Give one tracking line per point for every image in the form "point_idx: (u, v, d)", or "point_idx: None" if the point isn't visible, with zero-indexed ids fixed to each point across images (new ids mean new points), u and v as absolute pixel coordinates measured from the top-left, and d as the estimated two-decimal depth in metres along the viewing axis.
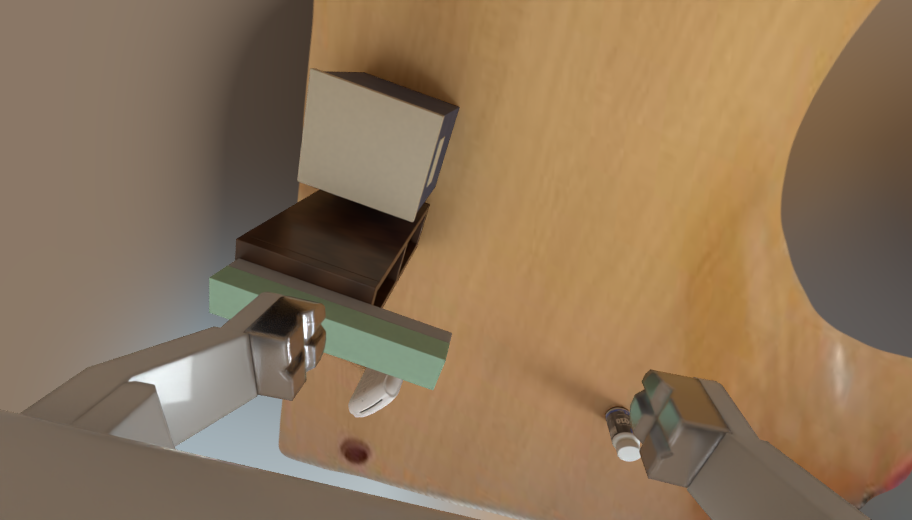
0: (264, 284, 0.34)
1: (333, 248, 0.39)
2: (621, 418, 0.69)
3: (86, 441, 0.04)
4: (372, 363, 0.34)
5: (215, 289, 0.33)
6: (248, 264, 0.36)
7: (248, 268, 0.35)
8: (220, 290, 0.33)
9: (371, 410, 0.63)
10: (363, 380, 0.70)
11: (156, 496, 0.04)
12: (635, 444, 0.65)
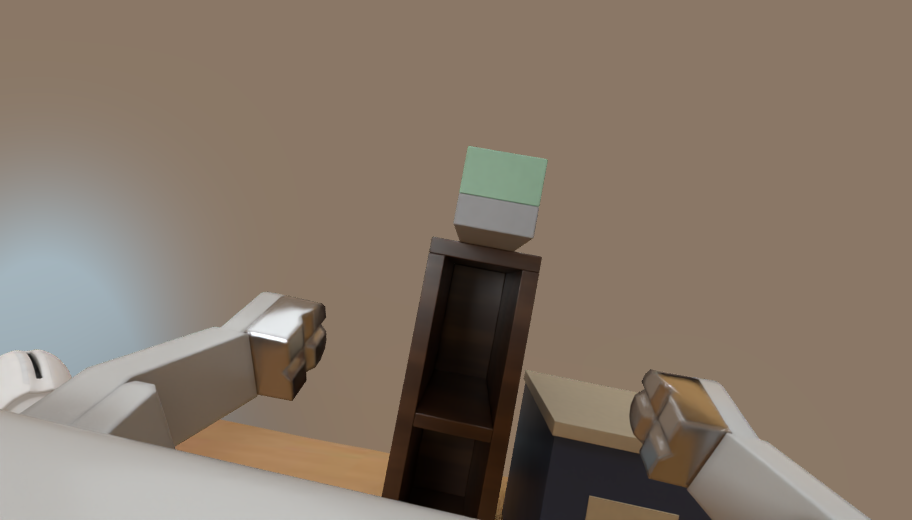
0: None
1: None
2: None
3: (86, 441, 0.04)
4: None
5: None
6: None
7: None
8: None
9: (23, 358, 0.26)
10: None
11: (155, 496, 0.04)
12: None
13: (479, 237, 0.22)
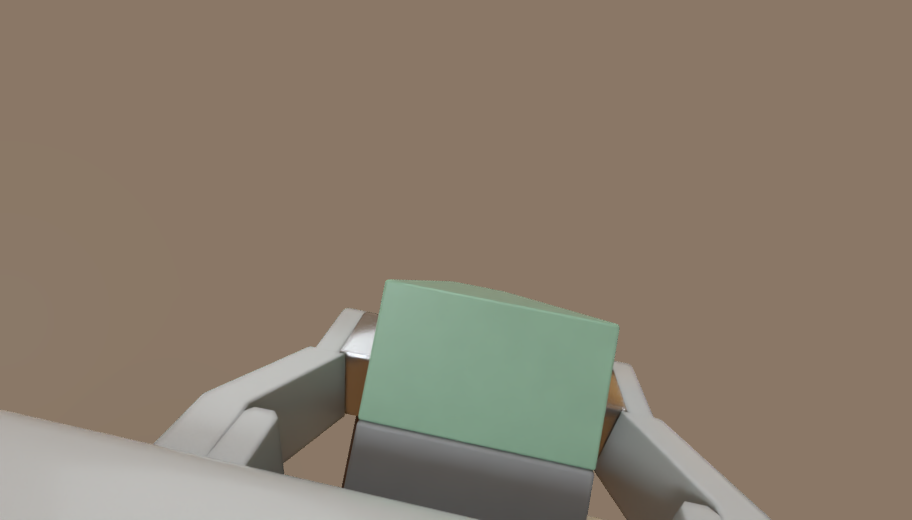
0: None
1: None
2: None
3: (86, 441, 0.04)
4: (449, 284, 0.12)
5: None
6: None
7: None
8: None
9: None
10: None
11: (156, 497, 0.04)
12: None
13: None
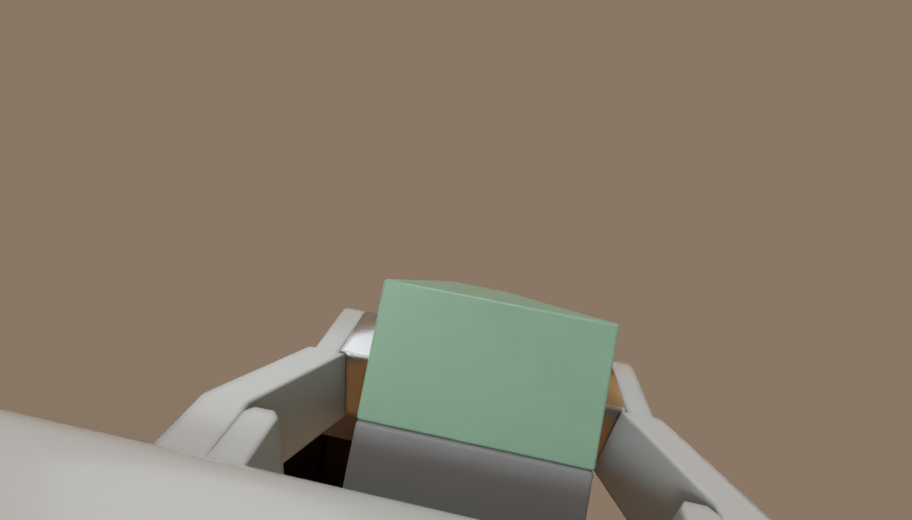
0: None
1: None
2: None
3: (86, 441, 0.04)
4: (449, 284, 0.12)
5: None
6: None
7: None
8: None
9: None
10: None
11: (156, 497, 0.04)
12: None
13: None
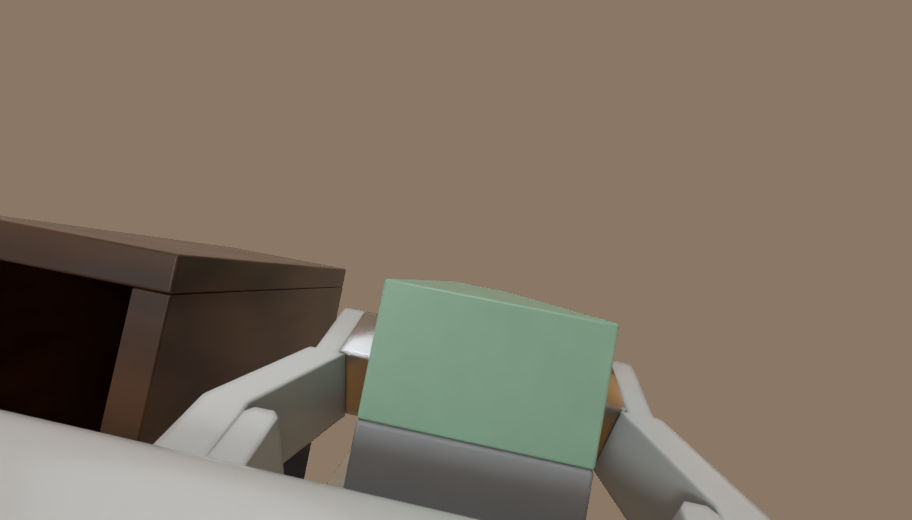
0: None
1: (267, 354, 0.17)
2: None
3: (86, 441, 0.04)
4: (450, 284, 0.12)
5: None
6: None
7: None
8: (493, 289, 0.27)
9: None
10: None
11: (156, 496, 0.04)
12: None
13: None
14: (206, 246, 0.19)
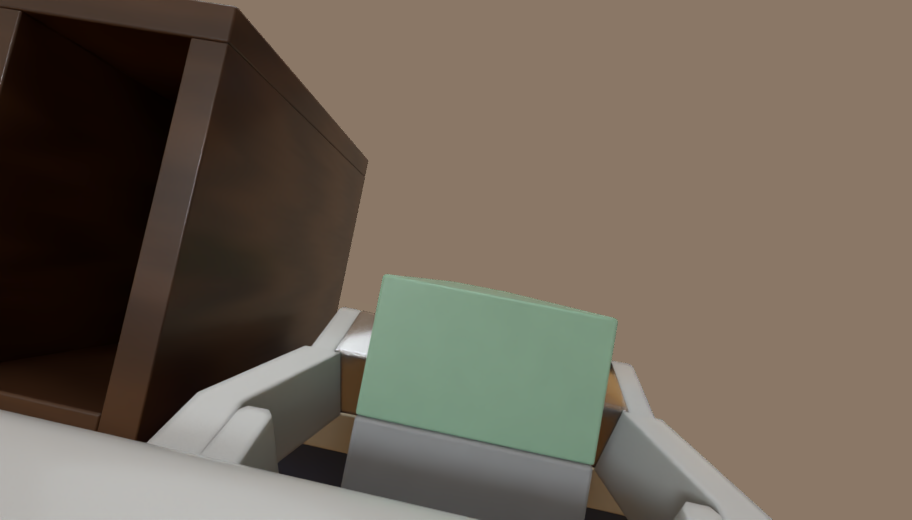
0: None
1: (302, 190, 0.17)
2: None
3: (86, 441, 0.04)
4: (448, 282, 0.12)
5: None
6: None
7: None
8: None
9: None
10: None
11: (156, 497, 0.04)
12: None
13: None
14: None
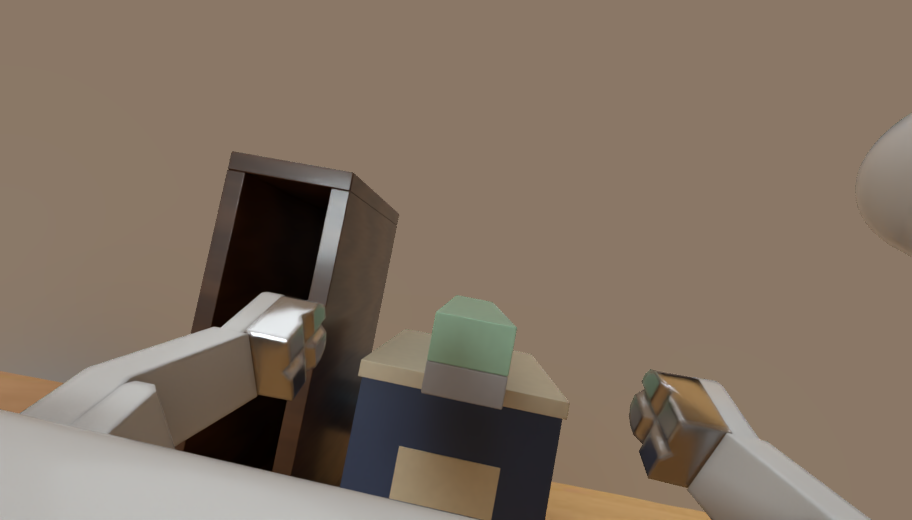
0: None
1: (368, 247, 0.29)
2: None
3: (86, 441, 0.04)
4: (456, 306, 0.24)
5: (483, 300, 0.39)
6: None
7: None
8: None
9: None
10: None
11: (156, 497, 0.04)
12: None
13: None
14: None
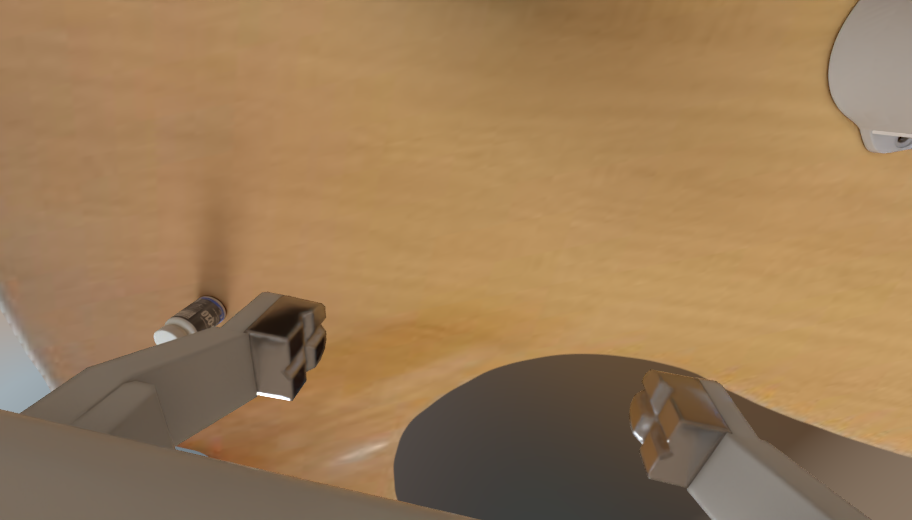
0: None
1: None
2: (210, 315, 0.54)
3: (86, 441, 0.04)
4: None
5: None
6: None
7: None
8: None
9: None
10: None
11: (155, 497, 0.04)
12: None
13: None
14: None
